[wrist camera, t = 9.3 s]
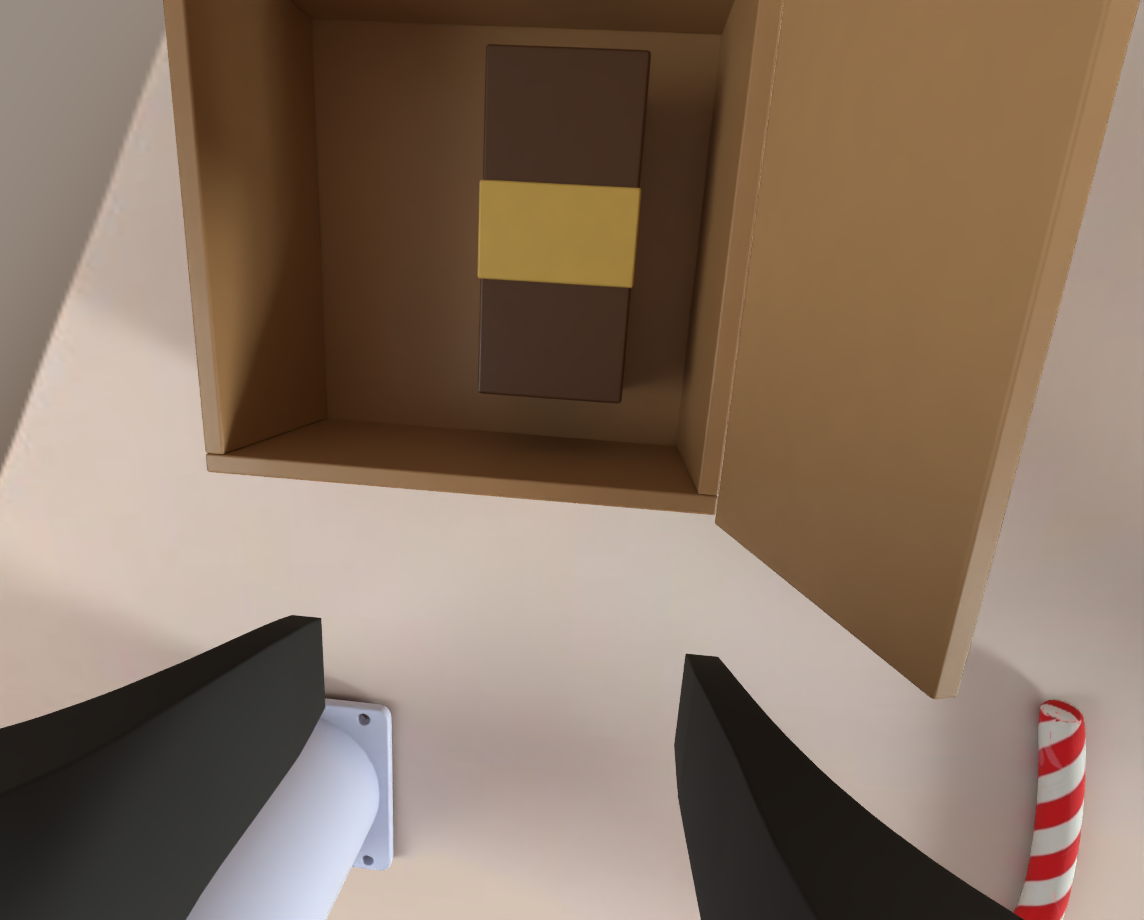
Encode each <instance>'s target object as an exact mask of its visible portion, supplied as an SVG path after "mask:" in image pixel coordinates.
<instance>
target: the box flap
mask: <svg viewBox="0 0 1144 920" xmlns="http://www.w3.org/2000/svg"><path fill="white" fill-rule="evenodd" d="M1139 1H1140V0H784V7H783V15H782V22H781V30H780V37H779V45H778V52H777V60H776V67H775V75H774V83H773V90H772V98H771V105H770V113H769V120H768V128H767V135H766V143H765V150H764V158H763V165H762V173H761V180H760V188H759V195H758V203H757V210H756V218H755V226H754V233H753V241H752V248H751V256H750V263H749V271H748V278H747V286H746V293H745V301H744V308H743V316H742V323H741V331H740V338H739V346H738V353H737V361H736V369H735V376H734V384H733V391H732V399H731V406H730V414H729V421H728V429H727V436H726V444H725V451H724V459H723V466H722V474H721V481H720V489H719V496H718V504H717V512H716V519H715V524H716V525H718V526H719V527H720V528H721V529H723V530H724V531H725V532H726V533H728V534H729V535H730V536H731V537H732V538H734V539H735V540H736V541H737V542H739V543H740V544H741V545H742V546H744V547H745V548H746V549H747V550H749V551H750V552H751V553H752V554H753V555H755V556H756V557H757V558H758V559H760V560H761V561H762V562H763V563H765V564H766V565H767V566H768V567H770V568H771V569H772V570H773V571H775V572H776V573H777V574H778V575H779V576H781V577H782V578H783V579H784V580H786V581H787V582H788V583H789V584H791V585H792V586H793V587H794V588H796V589H797V590H798V591H799V592H800V593H802V594H803V595H804V596H805V597H807V598H808V599H809V600H810V601H812V602H813V603H814V604H815V605H817V606H818V607H819V608H820V609H822V610H823V611H824V612H825V613H826V614H828V615H829V616H830V617H831V618H833V619H834V620H835V621H836V622H838V623H839V624H840V625H841V626H843V627H844V628H845V629H846V630H847V631H849V632H850V633H851V634H852V635H854V636H855V637H856V638H857V639H859V640H860V641H861V642H862V643H864V644H865V645H866V646H867V647H869V648H870V649H871V650H872V651H873V652H875V653H876V654H877V655H878V656H880V657H881V658H882V659H883V660H885V661H886V662H887V663H888V664H890V665H891V666H892V667H893V668H894V669H896V670H897V671H898V672H899V673H901V674H902V675H903V676H904V677H906V678H907V679H908V680H909V681H911V682H912V683H913V684H914V685H916V686H917V687H918V688H919V689H920V690H922V691H923V692H924V693H925V694H927V695H928V696H929V697H930V698H933V699H941V698H951V697H956V696H957V694H958V690H959V686H960V682H961V678H962V675H963V671H964V667H965V663H966V659H967V656H968V652H969V648H970V644H971V640H972V637H973V633H974V629H975V625H976V621H977V618H978V614H979V610H980V606H981V602H982V599H983V595H984V591H985V587H986V583H987V580H988V576H989V572H990V568H991V564H992V560H993V557H994V553H995V549H996V545H997V541H998V538H999V534H1000V530H1001V526H1002V522H1003V519H1004V515H1005V511H1006V507H1007V503H1008V500H1009V496H1010V492H1011V488H1012V484H1013V481H1014V477H1015V473H1016V469H1017V465H1018V462H1019V458H1020V454H1021V450H1022V446H1023V443H1024V439H1025V435H1026V431H1027V427H1028V423H1029V420H1030V416H1031V412H1032V408H1033V404H1034V401H1035V397H1036V393H1037V389H1038V385H1039V382H1040V378H1041V374H1042V370H1043V366H1044V363H1045V359H1046V355H1047V351H1048V347H1049V344H1050V340H1051V336H1052V332H1053V328H1054V325H1055V321H1056V317H1057V313H1058V309H1059V306H1060V302H1061V298H1062V294H1063V290H1064V286H1065V283H1066V279H1067V275H1068V271H1069V267H1070V264H1071V260H1072V256H1073V252H1074V248H1075V245H1076V241H1077V237H1078V233H1079V229H1080V226H1081V222H1082V218H1083V214H1084V210H1085V207H1086V203H1087V199H1088V195H1089V191H1090V188H1091V184H1092V180H1093V176H1094V172H1095V169H1096V165H1097V161H1098V157H1099V153H1100V149H1101V146H1102V142H1103V138H1104V134H1105V130H1106V127H1107V123H1108V119H1109V115H1110V111H1111V108H1112V104H1113V100H1114V96H1115V92H1116V89H1117V85H1118V81H1119V77H1120V73H1121V70H1122V66H1123V62H1124V58H1125V54H1126V51H1127V47H1128V43H1129V39H1130V35H1131V32H1132V28H1133V24H1134V20H1135V16H1136V12H1137V9H1138V5H1139Z"/></svg>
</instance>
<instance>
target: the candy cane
mask: <svg viewBox="0 0 1144 920" xmlns="http://www.w3.org/2000/svg"><path fill="white" fill-rule="evenodd" d="M1038 743H1039V762H1038V792H1037V805H1036V816H1035V825H1034V833H1033V841H1032V848H1031V854H1030V860H1029V865H1028V870H1027V875H1026V879H1025V883H1024V887H1023V891H1022V894H1021V897H1020V900H1019V902H1018V905H1017V907H1016V909H1015V911H1014V914H1016V915H1017V916H1019V917H1021V918H1022V919H1024V920H1062V919H1063V917H1064V914H1065V911H1066V908H1067V904H1068V900H1069V897H1070V892H1071V888H1072V883H1073V878H1074V873H1075V867H1076V862H1077V855H1078V848H1079V842H1080V834H1081V826H1082V816H1083V806H1084V791H1085V764H1086V736H1085V725H1084V718H1083V715H1082V713H1081V711H1080V710H1079V709H1078V708H1077V707H1076V706H1074V705H1072V704H1070V703H1068V702H1065V701H1061V700H1048V701H1045V702H1044V703H1043V704H1042V705H1041V706H1040V712H1039V723H1038Z"/></svg>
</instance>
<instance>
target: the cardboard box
mask: <svg viewBox="0 0 1144 920" xmlns="http://www.w3.org/2000/svg"><path fill="white" fill-rule="evenodd" d="M783 2H784V0H163V5H164V15H165V26H166V37H167V47H168V58H169V68H170V79H171V90H172V100H173V111H174V121H175V132H176V143H177V153H178V164H179V174H180V185H181V196H182V206H183V217H184V227H185V238H186V249H187V259H188V270H189V280H190V291H191V302H192V312H193V323H194V333H195V344H196V355H197V365H198V376H199V386H200V397H201V408H202V418H203V429H204V439H205V450H206V453H208V454H206V461H207V470H208V471H209V472H217V473H228V474H240V475H252V476H264V477H275V478H287V479H299V480H310V481H322V482H334V483H346V484H357V485H369V486H381V487H392V488H404V489H416V490H428V491H439V492H451V493H463V494H475V495H486V496H498V497H510V498H521V499H533V500H545V501H557V502H568V503H580V504H592V505H604V506H615V507H627V508H639V509H650V510H662V511H674V512H686V513H697V514H709V515H714V514H715V513H716V508H717V500H718V497H717V495H718V492H719V485H720V477H721V470H722V462H723V455H724V447H725V440H726V432H727V425H728V417H729V410H730V402H731V394H732V387H733V379H734V372H735V364H736V357H737V349H738V342H739V334H740V327H741V319H742V312H743V304H744V296H745V289H746V281H747V274H748V266H749V259H750V251H751V244H752V236H753V229H754V221H755V214H756V206H757V198H758V191H759V183H760V176H761V168H762V161H763V153H764V146H765V138H766V131H767V123H768V115H769V108H770V100H771V93H772V85H773V78H774V70H775V63H776V55H777V48H778V40H779V33H780V25H781V17H782V10H783ZM488 44H503V45H529V46H554V47H580V48H605V49H631V50H648V51H650V53H651V62H650V74H649V86H648V97H647V109H646V121H645V132H644V144H643V156H642V167H641V179H640V189H641V191H642V192H641V204H640V215H639V227H638V238H637V250H636V262H635V273H634V285H633V287H632V289H631V296H630V308H629V319H628V331H627V343H626V354H625V366H624V378H623V389H622V401H621V403H618V404H615V403H602V402H588V401H575V400H562V399H548V398H535V397H522V396H508V395H495V394H481V393H479V392H478V355H479V313H480V278H478V275H477V274H478V230H479V186H480V180H483V146H484V104H485V62H486V46H487V45H488Z"/></svg>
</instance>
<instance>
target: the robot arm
mask: <svg viewBox="0 0 1144 920" xmlns="http://www.w3.org/2000/svg"><path fill="white" fill-rule="evenodd" d="M362 714H366V715H367V716H368V717H369V718H365V717H364V716H363V715H362ZM674 747H675V762H676V776H677V789H678V799H679V805H680V811H681V816H682V822H683V827H684V832H685V838H686V843H687V848H688V854H689V859H690V864H691V869H692V875H693V880H694V885H695V891H696V896H697V901H698V906H699V912H700V917H701V920H1024V919H1022V918H1021V917H1019V916H1017V915H1016V914H1014V913H1013V912H1011V911H1009V910H1008V909H1006V908H1005V907H1003V906H1002V905H1000V904H998V903H997V902H995V901H994V900H992V899H991V898H989V897H987V896H986V895H984V894H983V893H981V892H980V891H978V890H977V889H975V888H973V887H972V886H970V885H969V884H967V883H966V882H964V881H963V880H961V879H960V878H958V877H957V876H955V875H954V874H952V873H951V872H949V871H948V870H946V869H945V868H944V867H942V866H941V865H939V864H938V863H936V862H935V861H933V860H932V859H931V858H929V857H928V856H926V855H925V854H924V853H922V852H921V851H920V850H918V849H917V848H916V847H914V846H913V845H912V844H910V843H909V842H907V841H906V840H905V839H903V838H902V837H901V836H899V835H898V834H897V833H895V832H894V831H893V830H891V829H890V828H889V827H887V826H886V825H885V824H884V823H882V822H881V821H880V820H878V819H877V818H876V817H875V816H873V815H872V814H871V813H870V812H868V811H867V810H866V809H865V808H864V807H862V806H861V805H860V804H859V803H858V802H857V801H855V800H854V799H853V798H852V797H851V796H850V795H848V794H847V793H846V792H845V791H844V790H843V789H841V788H840V787H839V786H838V785H837V784H836V783H834V782H833V781H832V780H831V779H830V778H829V777H828V776H827V775H826V774H825V773H823V772H822V771H821V770H820V769H819V768H818V767H817V766H816V765H815V764H814V763H813V762H812V761H811V760H810V759H809V758H808V757H807V756H806V755H805V754H804V753H803V752H802V751H801V750H800V749H799V748H798V747H797V746H796V745H795V744H794V743H793V742H792V741H791V740H790V739H789V738H788V737H787V736H786V735H785V734H784V733H783V732H782V731H781V730H780V729H779V727H778V726H777V725H776V724H775V723H774V722H773V721H772V720H771V719H770V718H769V717H768V715H767V714H766V713H765V712H764V711H763V710H762V709H761V708H760V706H759V705H758V704H757V703H756V702H755V701H754V699H753V698H752V697H751V696H750V695H749V693H748V692H747V691H746V690H745V689H744V688H743V686H742V685H741V684H740V683H739V682H738V680H737V679H736V678H735V677H734V675H733V674H732V673H731V672H730V671H729V669H728V668H727V667H726V666H725V665H724V663H723V662H722V661H721V660H720V659H719V657H714V656H704V655H694V654H686V656H685V664H684V672H683V680H682V688H681V696H680V704H679V712H678V720H677V728H676V736H675V744H674ZM370 856H371V857H370ZM393 856H394V851H393V783H392V716H391V712H390V711H389V709H388V708H387V707H385V706H384V705H380V704H373V703H364V702H354V701H345V700H336V699H327V698H325V688H324V667H323V647H322V626H321V618H315V617H305V616H295V615H291V616H288V617H285V618H282V619H279V620H277V621H274V622H272V623H269V624H267V625H264V626H262V627H260V628H257V629H255V630H253V631H251V632H248V633H246V634H244V635H242V636H240V637H237V638H235V639H233V640H231V641H229V642H226V643H224V644H222V645H220V646H217V647H215V648H213V649H211V650H209V651H206V652H204V653H202V654H200V655H197V656H195V657H193V658H191V659H189V660H186V661H184V662H182V663H179V664H177V665H175V666H172V667H170V668H167V669H165V670H163V671H160V672H158V673H155V674H153V675H151V676H148V677H146V678H143V679H141V680H139V681H136V682H134V683H131V684H129V685H127V686H124V687H122V688H119V689H117V690H114V691H112V692H109V693H106V694H104V695H101V696H98V697H96V698H93V699H90V700H87V701H85V702H82V703H79V704H76V705H73V706H70V707H67V708H64V709H61V710H59V711H56V712H53V713H50V714H47V715H44V716H41V717H38V718H35V719H32V720H28V721H25V722H22V723H18V724H15V725H11V726H8V727H4V728H1V729H0V920H326V919H327V917H328V915H329V913H330V911H331V909H332V907H333V905H334V903H335V901H336V898H337V896H338V894H339V892H340V890H341V888H342V886H343V884H344V882H345V880H346V878H347V876H348V874H349V872H350V869H351V867H357V868H365V869H373V870H385V869H387V868H388V867H389V866H390V865H391V862H392V860H393Z"/></svg>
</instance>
